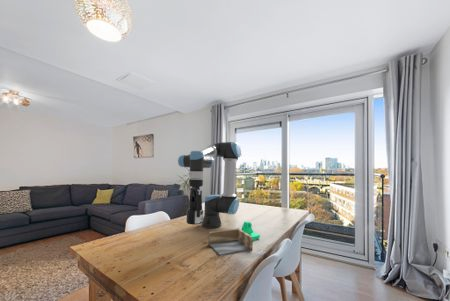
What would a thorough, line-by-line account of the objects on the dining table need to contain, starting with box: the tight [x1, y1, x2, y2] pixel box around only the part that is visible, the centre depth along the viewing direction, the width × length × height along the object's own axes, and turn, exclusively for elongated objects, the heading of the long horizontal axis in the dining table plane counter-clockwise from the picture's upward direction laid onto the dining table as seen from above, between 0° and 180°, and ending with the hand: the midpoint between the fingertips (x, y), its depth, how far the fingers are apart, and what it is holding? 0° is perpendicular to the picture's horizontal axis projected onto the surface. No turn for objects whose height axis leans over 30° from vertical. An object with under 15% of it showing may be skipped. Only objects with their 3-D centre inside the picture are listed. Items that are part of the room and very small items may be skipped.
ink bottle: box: [185, 199, 204, 226], centre depth 109 cm, size 10×9×12 cm
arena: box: [208, 228, 254, 257], centre depth 114 cm, size 16×20×7 cm
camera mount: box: [240, 221, 261, 242], centre depth 128 cm, size 12×8×10 cm, turn 129°
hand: (194, 220), depth 108 cm, fingers closed on ink bottle, 9 cm apart
